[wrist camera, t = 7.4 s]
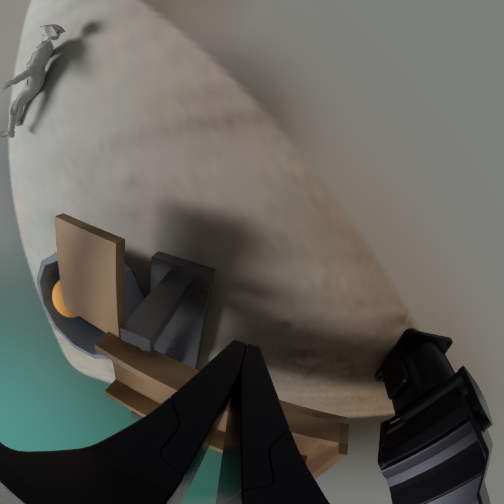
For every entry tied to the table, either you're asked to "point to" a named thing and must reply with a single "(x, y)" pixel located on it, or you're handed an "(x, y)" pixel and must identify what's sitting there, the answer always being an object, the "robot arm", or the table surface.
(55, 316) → the cup
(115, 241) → the lever
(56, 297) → the ball
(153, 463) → the robot arm
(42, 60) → the soldier figure
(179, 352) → the lever stand
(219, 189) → the table surface
